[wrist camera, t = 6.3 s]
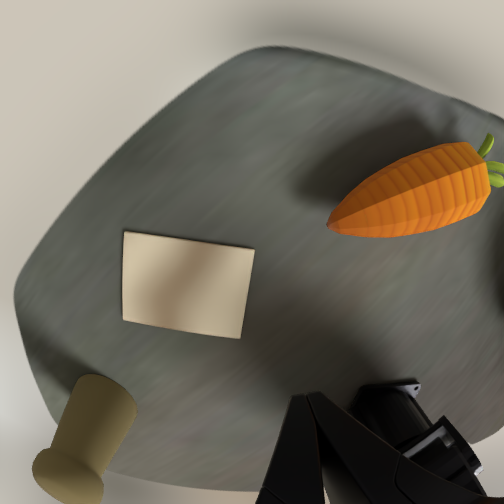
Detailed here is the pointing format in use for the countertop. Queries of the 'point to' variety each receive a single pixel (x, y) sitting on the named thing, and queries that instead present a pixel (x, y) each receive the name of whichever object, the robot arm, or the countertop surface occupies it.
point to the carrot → (419, 192)
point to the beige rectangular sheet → (185, 284)
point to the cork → (85, 440)
